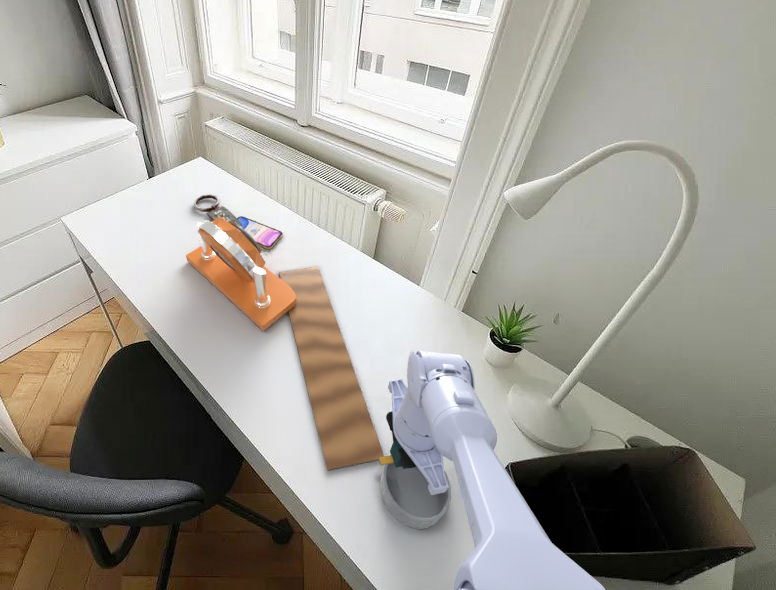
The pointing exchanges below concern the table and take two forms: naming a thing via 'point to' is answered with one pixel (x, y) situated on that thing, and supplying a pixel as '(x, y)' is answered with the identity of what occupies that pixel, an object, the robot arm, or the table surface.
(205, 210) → the keychain
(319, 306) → the mat
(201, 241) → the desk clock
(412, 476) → the bowl
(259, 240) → the smartphone
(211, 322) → the table surface
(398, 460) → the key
